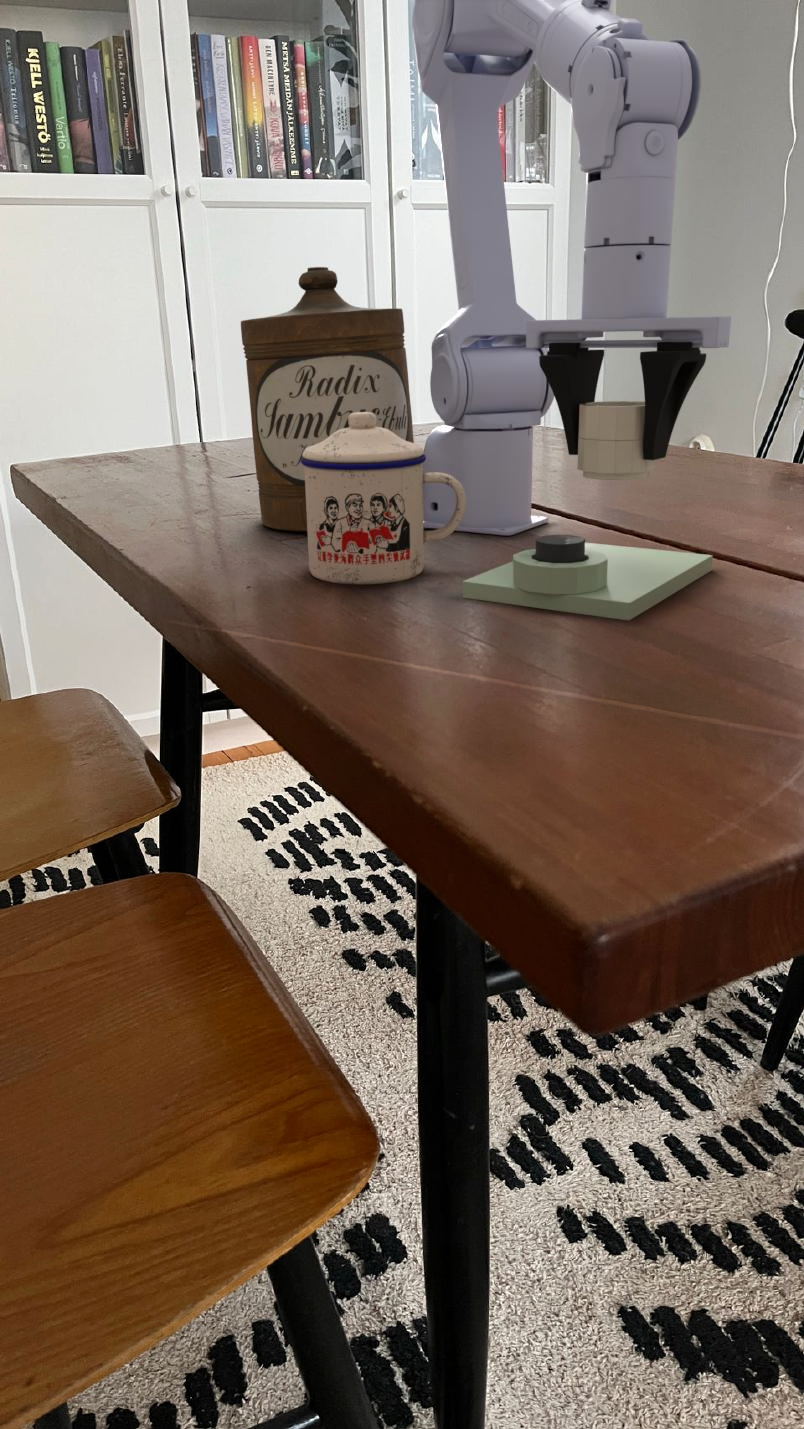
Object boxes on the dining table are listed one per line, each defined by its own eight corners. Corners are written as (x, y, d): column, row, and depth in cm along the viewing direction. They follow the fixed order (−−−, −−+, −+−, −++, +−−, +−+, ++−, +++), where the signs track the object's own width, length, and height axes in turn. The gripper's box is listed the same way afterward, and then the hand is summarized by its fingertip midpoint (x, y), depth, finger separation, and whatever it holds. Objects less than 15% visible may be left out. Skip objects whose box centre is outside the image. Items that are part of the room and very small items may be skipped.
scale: (625, 623, 65) (628, 576, 64) (458, 600, 71) (458, 556, 70) (711, 571, 78) (715, 530, 77) (563, 555, 84) (564, 517, 83)
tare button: (571, 569, 68) (572, 545, 67) (526, 564, 69) (527, 541, 69) (592, 560, 70) (593, 537, 70) (548, 555, 72) (549, 533, 71)
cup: (563, 478, 75) (565, 405, 74) (601, 469, 79) (604, 400, 78) (631, 483, 72) (635, 407, 70) (667, 474, 76) (672, 402, 74)
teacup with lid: (302, 588, 75) (293, 419, 71) (310, 561, 84) (303, 409, 80) (469, 584, 75) (470, 416, 71) (461, 558, 84) (461, 406, 80)
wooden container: (265, 538, 92) (234, 266, 85) (259, 513, 106) (232, 277, 99) (431, 522, 94) (415, 255, 87) (404, 500, 108) (389, 268, 101)
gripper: (756, 244, 69) (737, 456, 74) (564, 256, 78) (558, 445, 82) (711, 239, 64) (694, 467, 69) (510, 252, 73) (507, 454, 77)
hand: (616, 456), depth 75 cm, fingers closed on cup, 5 cm apart
